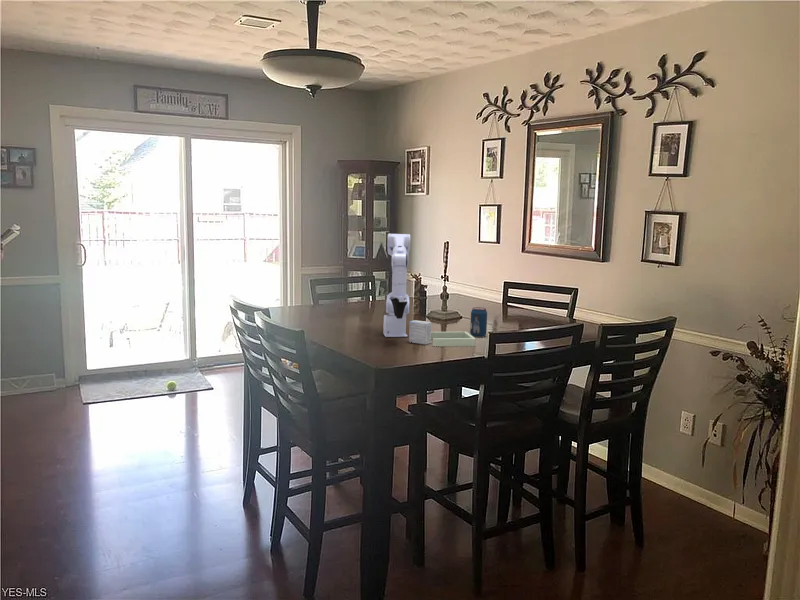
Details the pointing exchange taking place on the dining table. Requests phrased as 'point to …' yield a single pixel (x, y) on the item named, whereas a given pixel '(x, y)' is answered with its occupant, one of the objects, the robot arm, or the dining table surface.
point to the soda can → (478, 322)
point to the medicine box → (420, 332)
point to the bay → (452, 339)
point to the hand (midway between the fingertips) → (398, 317)
